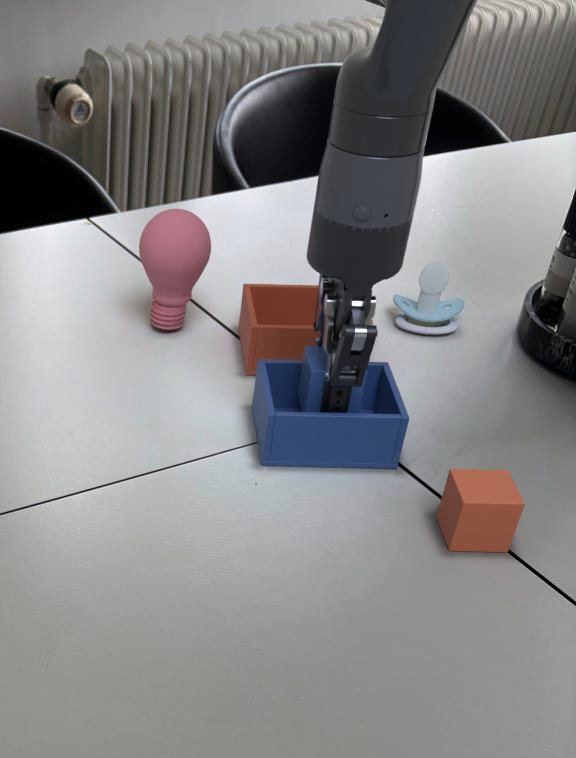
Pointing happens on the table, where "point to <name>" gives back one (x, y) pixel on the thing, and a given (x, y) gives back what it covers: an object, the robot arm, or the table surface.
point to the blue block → (320, 382)
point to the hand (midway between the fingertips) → (327, 403)
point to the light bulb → (173, 262)
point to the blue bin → (327, 422)
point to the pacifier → (429, 304)
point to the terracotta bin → (276, 322)
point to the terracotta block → (479, 510)
